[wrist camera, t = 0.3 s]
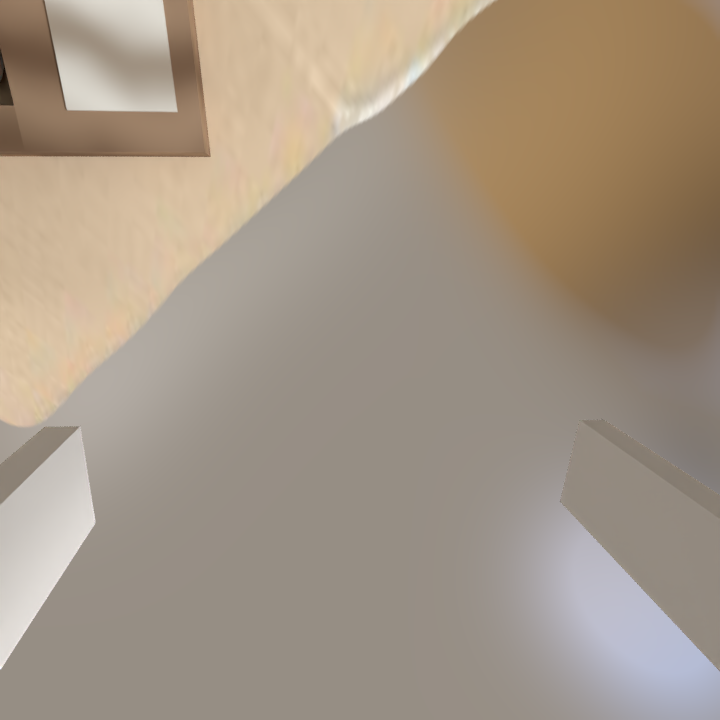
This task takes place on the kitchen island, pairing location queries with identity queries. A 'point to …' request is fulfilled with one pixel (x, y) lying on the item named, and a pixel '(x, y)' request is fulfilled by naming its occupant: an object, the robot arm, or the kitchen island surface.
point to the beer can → (1, 66)
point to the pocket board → (102, 79)
